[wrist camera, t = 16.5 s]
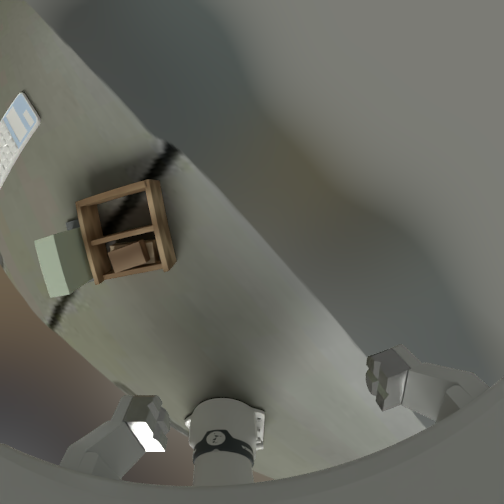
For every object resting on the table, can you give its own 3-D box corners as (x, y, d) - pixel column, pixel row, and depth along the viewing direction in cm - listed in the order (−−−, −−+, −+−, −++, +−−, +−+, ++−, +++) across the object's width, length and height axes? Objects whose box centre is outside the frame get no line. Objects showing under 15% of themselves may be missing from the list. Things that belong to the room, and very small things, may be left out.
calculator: (-16, 158, 37) (-21, 157, 35) (24, 91, 35) (20, 89, 33) (0, 191, 40) (-5, 192, 38) (43, 121, 38) (38, 119, 36)
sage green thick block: (90, 224, 42) (53, 234, 31) (102, 271, 44) (69, 294, 33) (72, 229, 42) (34, 241, 31) (84, 275, 44) (50, 297, 33)
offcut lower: (159, 258, 46) (155, 263, 43) (119, 261, 45) (113, 266, 42) (157, 238, 45) (152, 242, 42) (116, 242, 44) (109, 246, 41)
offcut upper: (150, 259, 42) (146, 262, 40) (120, 269, 42) (115, 273, 40) (143, 238, 42) (138, 241, 39) (113, 249, 42) (107, 253, 39)
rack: (176, 261, 45) (168, 271, 40) (109, 274, 45) (95, 284, 39) (159, 180, 42) (148, 179, 37) (92, 200, 42) (75, 202, 36)
